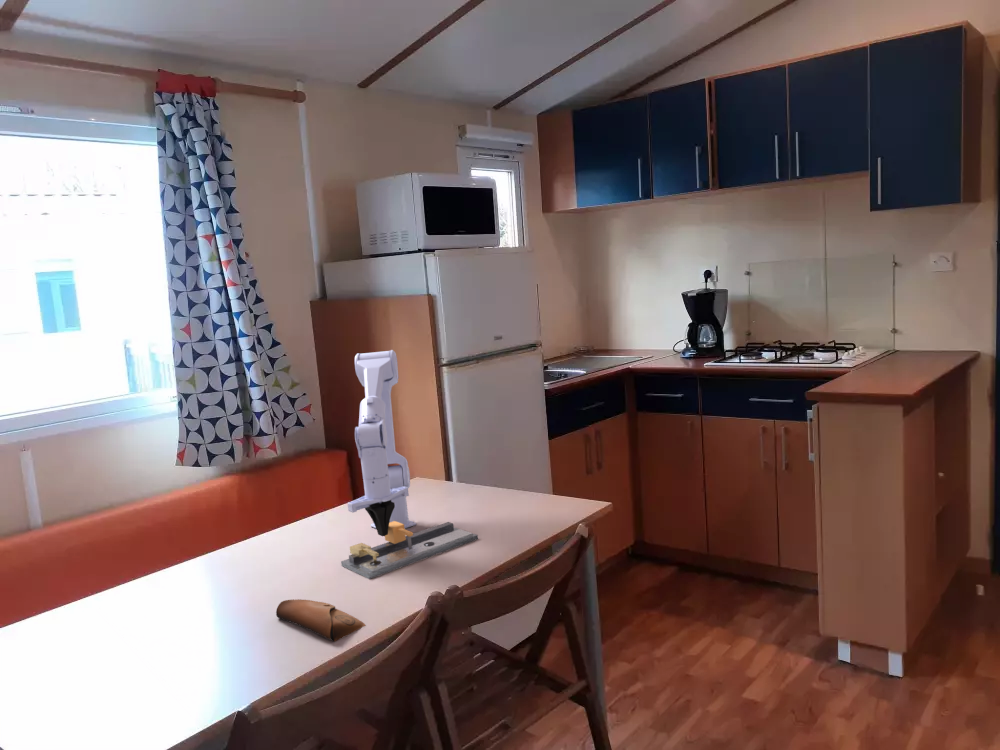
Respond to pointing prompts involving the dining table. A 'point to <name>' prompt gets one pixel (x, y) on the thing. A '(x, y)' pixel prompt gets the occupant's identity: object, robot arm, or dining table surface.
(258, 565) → the dining table surface
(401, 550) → the board
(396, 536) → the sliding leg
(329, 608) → the sunglasses case
